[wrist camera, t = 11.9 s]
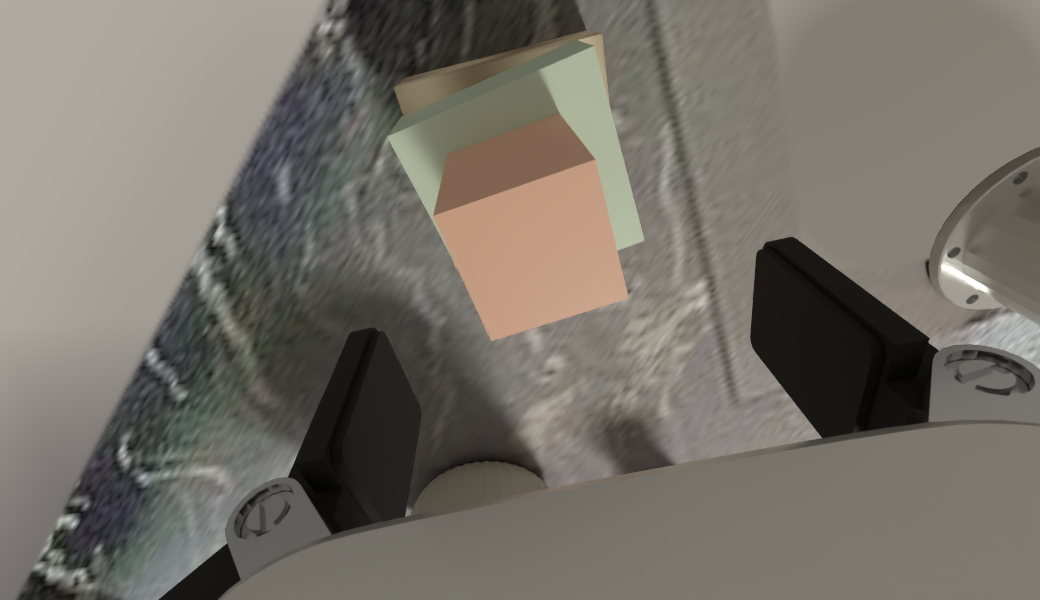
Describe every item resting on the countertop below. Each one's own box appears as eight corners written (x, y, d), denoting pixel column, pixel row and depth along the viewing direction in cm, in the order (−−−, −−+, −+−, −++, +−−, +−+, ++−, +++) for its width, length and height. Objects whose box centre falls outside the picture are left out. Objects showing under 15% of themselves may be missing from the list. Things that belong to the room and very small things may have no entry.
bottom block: (585, 30, 24) (601, 33, 21) (606, 203, 30) (622, 228, 26) (405, 77, 25) (393, 87, 22) (458, 239, 30) (455, 268, 27)
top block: (575, 39, 21) (594, 45, 18) (622, 210, 26) (644, 240, 22) (400, 117, 22) (387, 136, 19) (476, 266, 27) (476, 303, 24)
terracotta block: (559, 113, 19) (595, 159, 13) (588, 219, 22) (628, 298, 16) (447, 154, 19) (433, 216, 14) (488, 253, 22) (491, 341, 16)
